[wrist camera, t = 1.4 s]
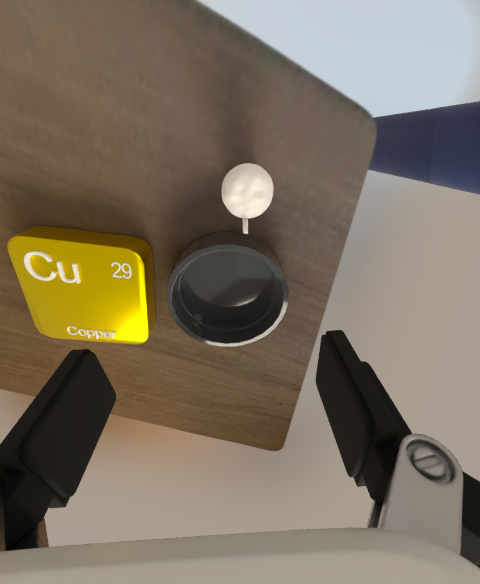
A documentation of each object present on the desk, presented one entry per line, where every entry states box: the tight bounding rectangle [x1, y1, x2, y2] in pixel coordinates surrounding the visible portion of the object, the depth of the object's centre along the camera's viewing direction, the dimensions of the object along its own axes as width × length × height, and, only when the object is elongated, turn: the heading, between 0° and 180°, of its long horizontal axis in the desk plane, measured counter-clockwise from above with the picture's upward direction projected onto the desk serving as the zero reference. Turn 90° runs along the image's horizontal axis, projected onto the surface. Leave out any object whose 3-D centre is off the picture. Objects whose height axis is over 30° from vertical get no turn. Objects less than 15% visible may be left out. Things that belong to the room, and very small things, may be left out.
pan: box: [166, 232, 289, 347], centre depth 34 cm, size 15×15×5 cm
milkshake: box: [222, 163, 273, 234], centre depth 25 cm, size 4×5×10 cm
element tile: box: [7, 226, 155, 344], centre depth 33 cm, size 15×15×5 cm
